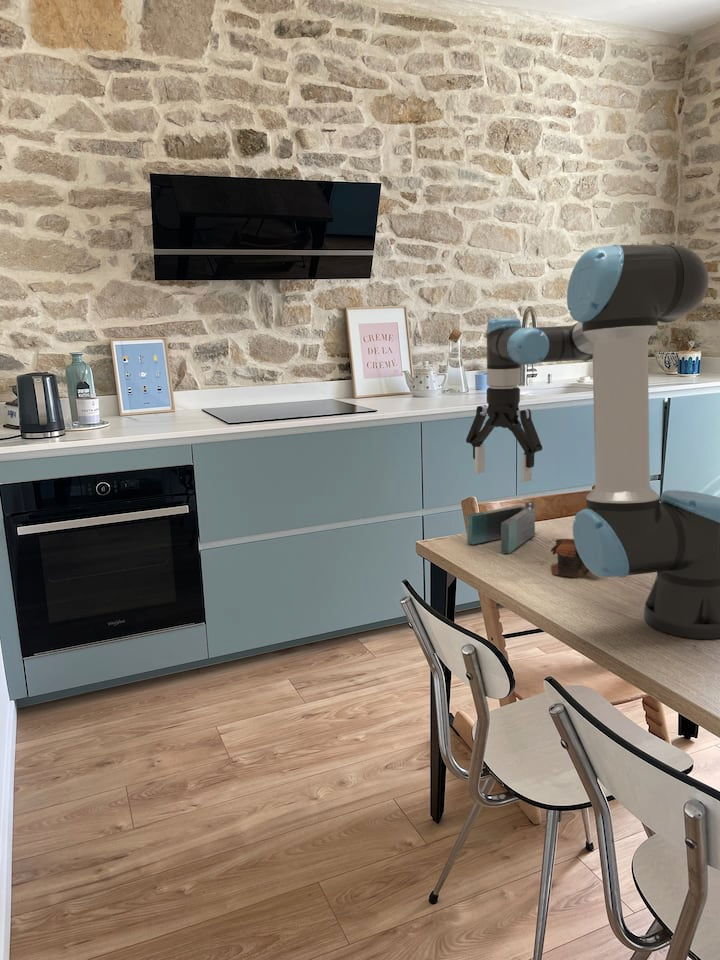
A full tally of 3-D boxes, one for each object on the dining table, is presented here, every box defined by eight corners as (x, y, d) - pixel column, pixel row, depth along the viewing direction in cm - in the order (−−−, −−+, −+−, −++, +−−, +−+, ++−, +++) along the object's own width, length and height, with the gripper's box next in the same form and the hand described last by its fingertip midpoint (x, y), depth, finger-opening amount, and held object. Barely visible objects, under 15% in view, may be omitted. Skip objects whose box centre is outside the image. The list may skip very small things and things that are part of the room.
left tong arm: (519, 531, 187) (519, 504, 185) (524, 533, 185) (524, 506, 184) (467, 542, 180) (467, 514, 178) (472, 544, 178) (471, 516, 176)
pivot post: (530, 535, 184) (530, 504, 183) (523, 534, 186) (523, 503, 184) (535, 533, 186) (536, 502, 184) (528, 532, 187) (528, 501, 186)
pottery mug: (537, 574, 159) (543, 537, 161) (567, 584, 164) (572, 548, 166) (582, 574, 149) (588, 535, 151) (612, 585, 154) (617, 547, 156)
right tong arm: (527, 534, 184) (527, 507, 183) (534, 535, 183) (535, 508, 182) (501, 552, 172) (501, 523, 170) (508, 553, 171) (509, 524, 169)
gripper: (559, 388, 164) (557, 481, 168) (471, 382, 182) (471, 467, 187) (539, 391, 159) (537, 487, 164) (451, 385, 177) (451, 472, 182)
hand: (502, 477), depth 175 cm, fingers open, 13 cm apart
